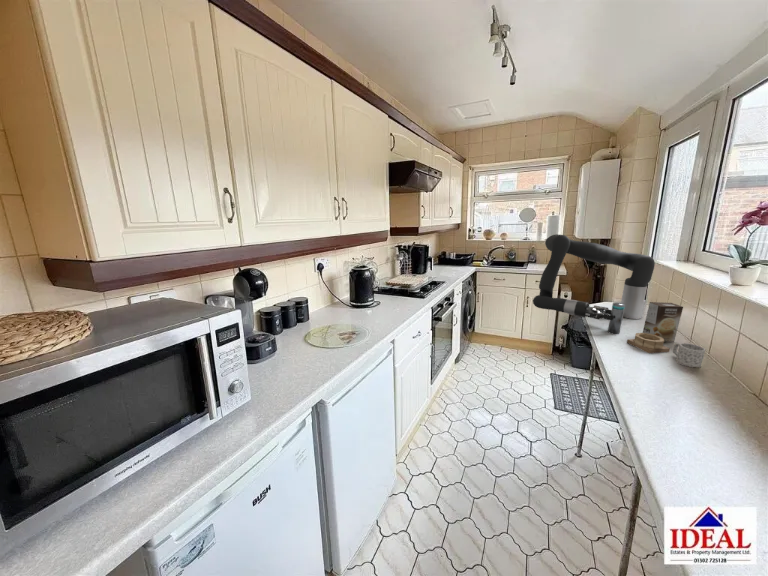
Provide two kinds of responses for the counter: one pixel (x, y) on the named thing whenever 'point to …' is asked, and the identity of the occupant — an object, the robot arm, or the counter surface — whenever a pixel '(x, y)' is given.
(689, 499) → the counter surface
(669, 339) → the coffee box
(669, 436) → the counter surface
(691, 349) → the mug
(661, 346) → the dock
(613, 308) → the cylinder
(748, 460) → the counter surface
